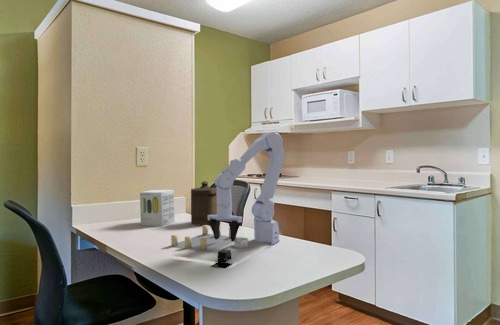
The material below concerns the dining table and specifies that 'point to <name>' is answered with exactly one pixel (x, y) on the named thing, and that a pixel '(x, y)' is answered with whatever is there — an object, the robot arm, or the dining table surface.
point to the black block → (221, 256)
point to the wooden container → (203, 204)
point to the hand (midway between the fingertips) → (225, 239)
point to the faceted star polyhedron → (241, 242)
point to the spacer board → (210, 243)
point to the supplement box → (157, 207)
